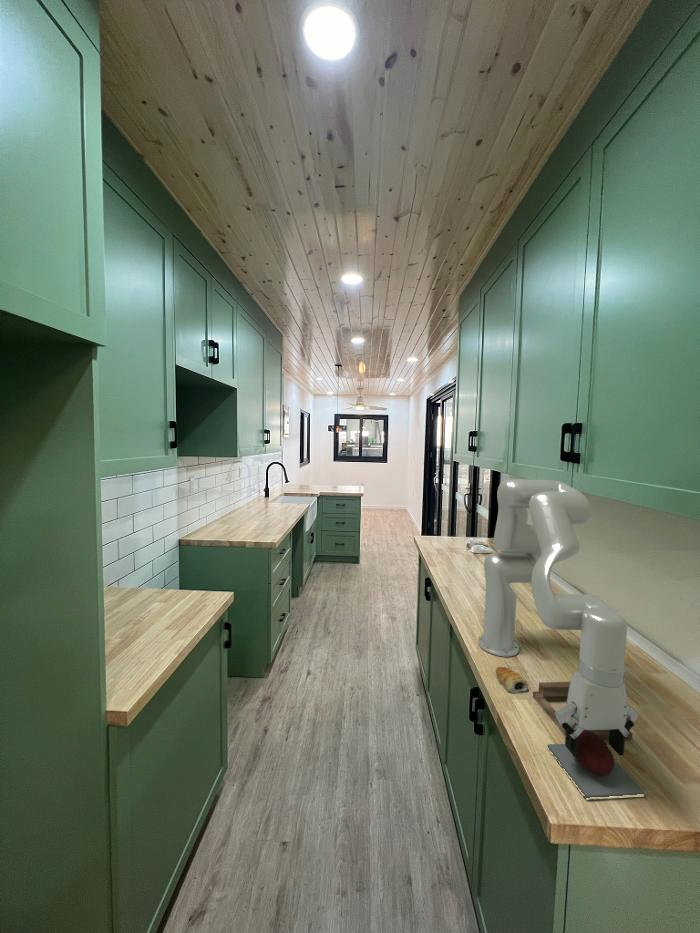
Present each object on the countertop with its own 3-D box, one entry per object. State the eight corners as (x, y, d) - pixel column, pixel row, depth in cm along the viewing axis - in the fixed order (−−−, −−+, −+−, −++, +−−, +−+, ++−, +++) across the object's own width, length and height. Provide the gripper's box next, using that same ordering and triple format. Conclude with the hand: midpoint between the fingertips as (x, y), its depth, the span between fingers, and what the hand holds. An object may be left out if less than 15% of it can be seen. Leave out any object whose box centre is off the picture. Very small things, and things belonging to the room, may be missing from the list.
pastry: (489, 674, 109) (489, 661, 109) (509, 671, 111) (510, 659, 111) (509, 695, 100) (510, 681, 100) (531, 692, 102) (532, 679, 101)
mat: (547, 748, 83) (547, 744, 82) (598, 746, 84) (598, 742, 83) (585, 800, 71) (586, 795, 71) (644, 797, 72) (645, 792, 72)
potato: (604, 754, 80) (606, 727, 80) (619, 790, 72) (621, 761, 71) (565, 744, 83) (566, 718, 82) (575, 778, 74) (577, 749, 74)
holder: (532, 696, 99) (533, 682, 99) (585, 695, 101) (586, 681, 100) (570, 742, 85) (571, 725, 84) (632, 739, 86) (633, 723, 86)
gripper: (624, 659, 80) (618, 735, 81) (548, 661, 79) (543, 738, 80) (656, 682, 73) (648, 764, 74) (572, 684, 71) (566, 768, 72)
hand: (593, 750), depth 77 cm, fingers open, 9 cm apart
